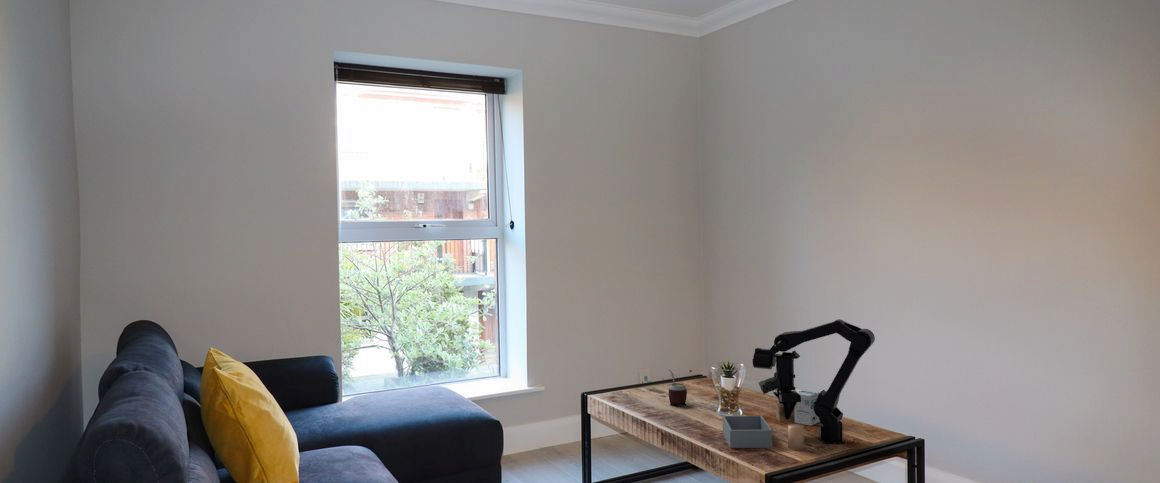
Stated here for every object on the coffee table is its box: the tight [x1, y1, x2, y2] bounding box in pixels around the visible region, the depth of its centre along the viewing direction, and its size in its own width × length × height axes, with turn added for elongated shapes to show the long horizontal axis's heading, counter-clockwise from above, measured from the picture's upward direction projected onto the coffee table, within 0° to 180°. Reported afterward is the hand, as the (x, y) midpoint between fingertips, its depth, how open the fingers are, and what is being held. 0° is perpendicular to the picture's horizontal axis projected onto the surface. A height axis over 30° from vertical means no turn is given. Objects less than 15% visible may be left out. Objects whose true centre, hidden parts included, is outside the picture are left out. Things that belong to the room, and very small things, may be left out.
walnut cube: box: [775, 402, 795, 423], centre depth 254 cm, size 5×5×5 cm
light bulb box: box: [791, 388, 820, 427], centre depth 270 cm, size 11×7×11 cm, turn 47°
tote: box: [722, 415, 773, 449], centre depth 250 cm, size 13×17×6 cm
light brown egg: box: [787, 423, 805, 451], centre depth 240 cm, size 5×5×7 cm
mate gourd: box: [668, 369, 688, 408], centre depth 296 cm, size 8×8×15 cm
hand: (785, 416), depth 254 cm, fingers closed on walnut cube, 5 cm apart
